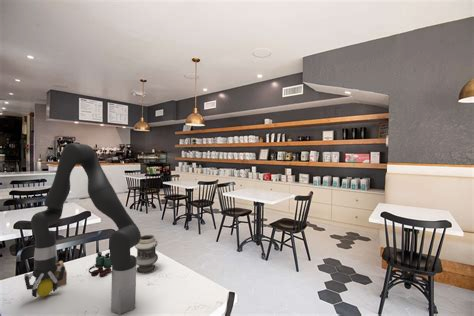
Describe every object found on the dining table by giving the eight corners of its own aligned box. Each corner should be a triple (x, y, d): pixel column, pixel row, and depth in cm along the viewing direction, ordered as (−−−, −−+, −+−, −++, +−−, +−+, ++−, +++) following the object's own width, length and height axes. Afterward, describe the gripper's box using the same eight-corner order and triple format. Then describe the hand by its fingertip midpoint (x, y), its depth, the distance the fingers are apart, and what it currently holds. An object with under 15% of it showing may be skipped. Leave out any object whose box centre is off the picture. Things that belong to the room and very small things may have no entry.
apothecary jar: (132, 266, 130) (133, 235, 130) (154, 261, 137) (155, 231, 136) (136, 276, 120) (137, 242, 120) (160, 271, 127) (161, 238, 126)
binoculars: (85, 260, 116) (98, 250, 126) (86, 279, 117) (99, 268, 127) (101, 261, 115) (114, 251, 125) (102, 281, 116) (115, 269, 126)
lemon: (33, 301, 98) (34, 283, 98) (40, 293, 103) (41, 276, 103) (49, 299, 100) (49, 281, 99) (55, 292, 105) (55, 274, 105)
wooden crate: (66, 284, 111) (66, 267, 111) (42, 291, 105) (42, 273, 105) (63, 276, 118) (63, 260, 118) (40, 283, 111) (40, 266, 111)
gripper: (23, 263, 93) (23, 304, 94) (67, 253, 104) (66, 290, 104) (22, 257, 99) (22, 296, 99) (64, 248, 109) (63, 283, 109)
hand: (45, 293), depth 102 cm, fingers open, 5 cm apart
